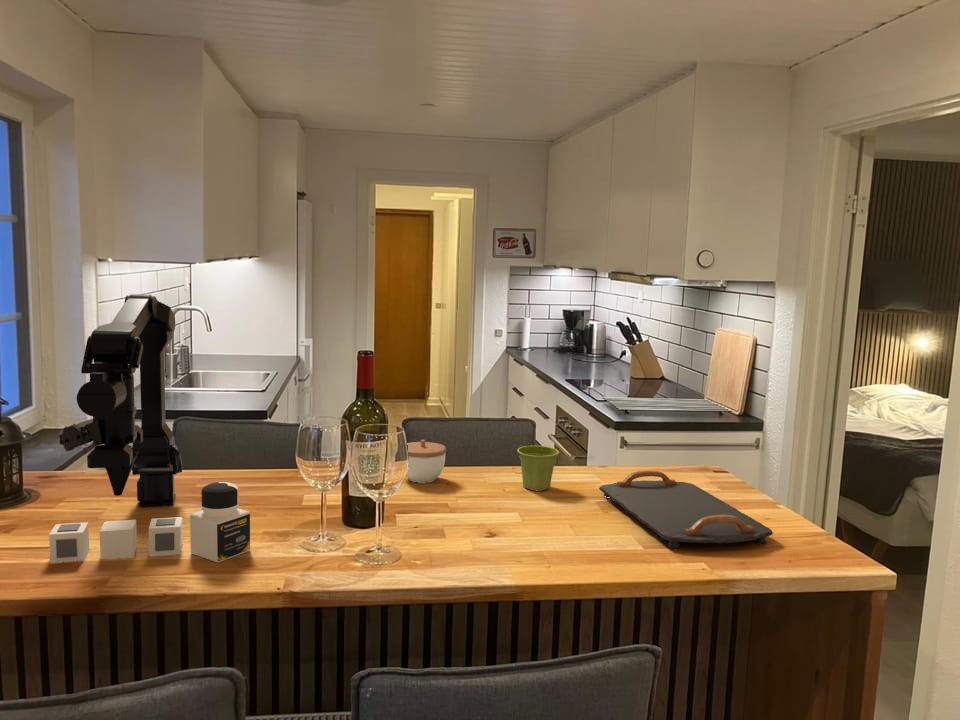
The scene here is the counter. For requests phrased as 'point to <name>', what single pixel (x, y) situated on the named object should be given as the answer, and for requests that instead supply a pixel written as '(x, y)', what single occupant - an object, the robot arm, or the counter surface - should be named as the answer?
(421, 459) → the lidded jar
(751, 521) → the serving board
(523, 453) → the plant pot
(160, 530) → the labelled cube a
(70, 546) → the labelled cube
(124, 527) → the plain cube
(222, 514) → the medicine bottle
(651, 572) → the counter surface
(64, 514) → the counter surface
